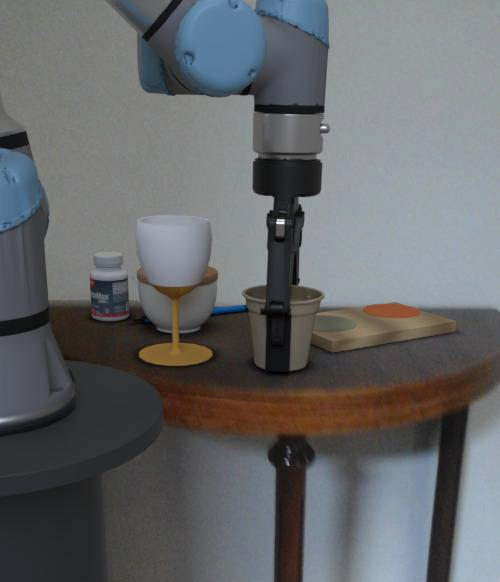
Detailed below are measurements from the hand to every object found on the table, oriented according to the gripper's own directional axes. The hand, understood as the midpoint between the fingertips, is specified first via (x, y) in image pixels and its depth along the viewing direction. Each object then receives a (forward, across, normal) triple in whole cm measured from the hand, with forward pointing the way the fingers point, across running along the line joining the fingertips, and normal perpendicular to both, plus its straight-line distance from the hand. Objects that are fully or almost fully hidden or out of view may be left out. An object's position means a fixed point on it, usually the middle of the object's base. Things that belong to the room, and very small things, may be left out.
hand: (281, 358), depth 98 cm
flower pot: (+1, 0, 0) cm, 1 cm away
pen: (+1, +21, +14) cm, 26 cm away
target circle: (-1, +23, -14) cm, 27 cm away
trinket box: (+1, +14, +15) cm, 21 cm away
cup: (+1, +1, +13) cm, 13 cm away
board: (+1, +18, -10) cm, 20 cm away
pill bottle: (+1, +18, +26) cm, 31 cm away
